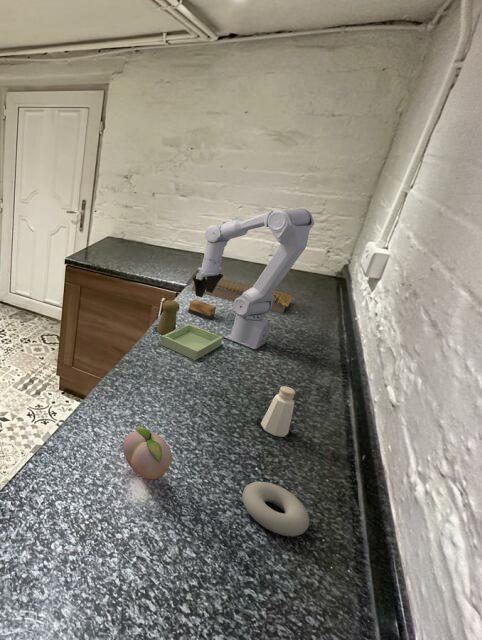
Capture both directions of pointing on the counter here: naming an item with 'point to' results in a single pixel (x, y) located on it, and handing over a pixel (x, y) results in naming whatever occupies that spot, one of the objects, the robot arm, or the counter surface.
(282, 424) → the salt shaker
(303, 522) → the donut
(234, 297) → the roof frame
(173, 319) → the pepper mill
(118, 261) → the counter surface
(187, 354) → the tray
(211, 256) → the robot arm
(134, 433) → the decorative fruit
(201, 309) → the orange brown rectangular block
